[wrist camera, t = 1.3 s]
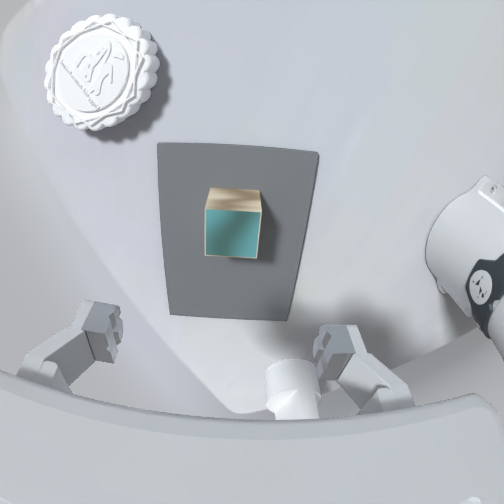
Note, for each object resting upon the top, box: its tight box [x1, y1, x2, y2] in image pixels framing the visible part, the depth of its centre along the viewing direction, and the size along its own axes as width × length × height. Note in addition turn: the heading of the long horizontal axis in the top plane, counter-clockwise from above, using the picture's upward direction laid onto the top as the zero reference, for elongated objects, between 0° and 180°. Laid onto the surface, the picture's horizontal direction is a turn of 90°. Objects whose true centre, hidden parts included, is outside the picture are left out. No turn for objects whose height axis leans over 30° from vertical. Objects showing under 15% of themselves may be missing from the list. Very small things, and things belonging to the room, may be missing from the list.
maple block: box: [205, 187, 262, 258], centre depth 30 cm, size 5×5×5 cm
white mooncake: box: [44, 14, 160, 131], centre depth 23 cm, size 12×12×4 cm
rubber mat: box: [157, 143, 318, 321], centre depth 35 cm, size 16×23×1 cm
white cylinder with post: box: [265, 358, 321, 420], centre depth 45 cm, size 9×9×12 cm
